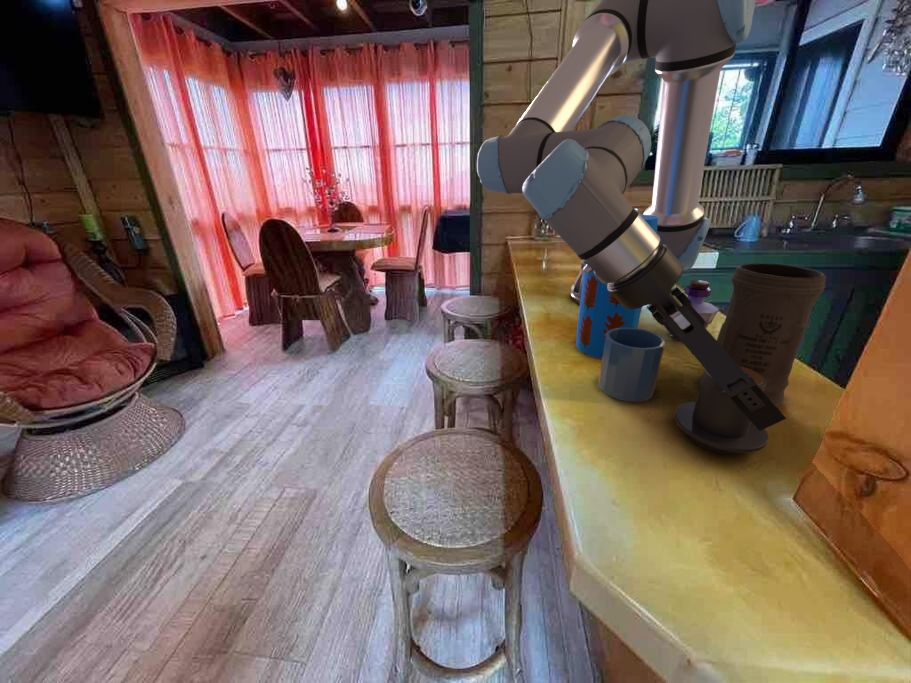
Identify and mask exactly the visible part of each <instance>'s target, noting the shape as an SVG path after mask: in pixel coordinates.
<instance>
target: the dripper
mask: <svg viewBox="0 0 911 683" xmlns="http://www.w3.org/2000/svg"><path fill="white" fill-rule="evenodd" d="M739 367H740V368H741V369H742V370H743V371H744V372H745V373H747V374H748V375H749V376H750V377H751V378H752V379H753V380H754V382H755V383H756V384H757V385H758V387H759V388H760V389H761V390H762V391H764V389H765V386H766V380H765V379H764V378H763V377H762V376H761V375H760V374H758V373H757V372H755V371H753V370H751V369H748V368H745V367H742V366H739ZM704 371H705V370H704ZM699 388H700V389H699V392H698V395H697V398H696V401H695V400H692V401H687V402H683V403H681V404H680V405H678V406H677V407H676V409H675V411H674V420H675V423H676V424H677V426H678V427H679V428H680V429H681V430H682V431H683V432H685V434H687V435H688V436H689V438H690V440H691V441H693V442H694V443H695V444H697V445H698V446H699V447H701V448H703V449H705V450H708V451H710V452H713V453H717V454H722V455H735V454H738V453H743V454H746V453H755V452H759V451H760V450H763V449H764V448H765V447H766V446H767V444H768V441H769V434H768V431H767V429H766V428H765V429H763V430H761V431H759V430H758V429H757V428H756V426H755V425H754V424H753V423H752V422H751V421H750V420H749V419H748V418H747V416H746V415H745V414H744V413H743V412H742V411H741V410H740V409H739V408H738V406H737V405H736V404H735V403H734V402H733V401H732V400H731V399H730V397H728V396H726V395H725V394H724V395H722V396H720V397H719V396H718V395H717V393H716V392H715V391H717V390H719V389H721V388H720V386H719V384H718V383H717V382H716V381H715V380H714V379H713V377H712V376H711V375H710V374H709V373H708V372H707V370H706V371H705V374H704V378H703V381H702V385H700V387H699Z"/></svg>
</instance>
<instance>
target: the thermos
mask: <svg viewBox="0 0 911 683" xmlns="http://www.w3.org/2000/svg"><path fill="white" fill-rule="evenodd" d="M639 214H640V215H641V216H642V217H643V218H644V220H645V221H646V222H647V223H648V224H649V225H650V226H651V228H652V229H653V230H654V231H655V232H657V226H658V217H656V216H652V215H644V213H643V214H642V213H639ZM586 265H587V264H585V266H586ZM607 287H608V286H607V284H605V283H602V282H601V281H600V280H599V279H598V278H597V277H596V275H595V274H594V270H593V271H592V272H590V273H585V272H584V276H583V284H582V292H581V300H580V304H579V308H578V317H577V324H576V325H577V326H576V342H575V345H576V349H577V350H579V352H581V353H582V354H585V356H586V355H587V356H589V357H592V358H596V359H601V360H602V356H603V349H604V343H605V337H606V333H607V332H608V331H609V330H611V329H615V328H624V327H628V328H638V329H639V324H640V318H641V314H642V309H643V307H641V308H638V309H626V308H624V307H623V306H622V305H621V304H620V303H619V301H618V300H617V299H616V298H615V297H614V296H613V295H612V294H611V293H610V292H609V290H608V289H607Z"/></svg>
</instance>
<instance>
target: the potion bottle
mask: <svg viewBox="0 0 911 683" xmlns="http://www.w3.org/2000/svg"><path fill="white" fill-rule="evenodd" d="M710 284H711V283H710V282H709V281H705V280H702V279H692V280H690V281H689V285H686V286H685V288H684V292H683V293H684V294H685V295H686V296H687V297H688V299H689V300H690V301H691V302H692V305H693V308H694V309H695V310H696V311H697V312H698V313H699V315H700V316H701V317H702V318H703V319H704V320H705V322H706V326H705V328H706V329H707V328H708V327H709V325H711V324H712V322H713V321H714V319H715V318H716V316H717V314H718V312H719V311H720V309H719V307H717V306H715V305H714V304H712V303H710V302H705V299H706V298H709V297H710V296H711V294H712V288H711V287H710ZM670 336H671V337H672V338H673V339H674V337H673V336H672V335H671V334H670Z"/></svg>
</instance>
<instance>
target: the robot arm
mask: <svg viewBox="0 0 911 683" xmlns="http://www.w3.org/2000/svg"><path fill="white" fill-rule="evenodd" d="M755 7H756V0H602V1H601V2H599V4H597V6H596V7H595V8H593V10H592V11H591V12H590V13H589V14H588V15H587V17H586V18H585V19H584V20H583V22H582V23H581V24H580V26H579V27H578V28H577V30H576V32H575V34H574V37H573V41H572V46H571V48H570V49H569V51H568V52H567V54H566V55H565V56H564V58H563V59H562V61H561V62H560V64H558V66H557V68H556V69H555V71H554V72H553V73H552V74H551V76H550V77H549V78H548V80H547V81H546V83H545V84H544V85H543V87H542V88H541V89H540V91H539V92H538V94H537V95H536V96H535V98H534V99H533V101H532V102H531V103H530V105H529V106H528V107H527V109H526V110H525V111H524V113H523V114H522V115H521V117H520V118H519V119H518V121H517V122H516V124H515V125H514V126H513V128H512V129H511V130H510V132H509V133H508V134H507V135H502V134H499V135H498V136H495V137H490V138H487V139H486V140H484V142H483V143H482V144H481V146H480V147H479V150H478V153H477V158H476V172H477V176H478V178H479V182H480V183H481V185H482V187H483V188H484V189H485V190H487V191H489V192H492V193H501V194H502V193H503V194H508V195H511V194H522V195H523V196H524V198H525V199H526V201H528V202H529V204H530V205H531V206H532V207H533V209H534V210H535V211H536V212H537V215H538V218H540V219H541V220H544V222H545V223H546V224H547V225H548V226H549V227H550V228H551V229H552V230H553V231H554V232H555V233H556V234H557V235H558V236H559V237H560V238H561V239H562V240H563V242H565V243H566V245H567V246H568V247H569V248H570V249H571V250H572V251H573V252H574V253H575V256H577V257H578V259H580V260H581V264H580V270H579V273H578V275H577V277H576V280H575V282H574V283H573V284H572V285H571V287H570V289H571V290H570V297H569V298H570V300H571V301H572V302H573V303H575V304H577V305H580V300H581V292H582V284H583V276H584V272H585V273H590V272H592V271H593V270H594V274H595V275H596V277H597V278H598V279H599V280H600V281H601V282H602V283H605V284H607V286H608V287H607V289H608V290H609V292H610V293H611V294H612V295H613V296H614V297H615V298H616V299H617V300H618V301H619V303H620V304H621V305H622V306H623V307H624V308H626V309H638V308H641V307H642V308H643V307H646V309H647V310H648V311H649V313H651V316H652V317H653V319H654V320H655V321H656V322H657V324H659V325H661V326H663V327H664V328H665V329H666V330H667V332H668V333H669V334H670V336H671V335H672V336H673V337H674V338H673V337H672V336H671V337H672V338H673V339H674V340H675V341H677V342H682V344H683V345H684V346H685V347H686V348H687V350H688V351H689V353H691V354H692V355H693V356H694V358H695V359H696V360H697V361H698V363H699V364H700V365H701V366H702V367H703V369H704V370H705V369H706V370H707V372H708V373H709V374H710V375H711V376H712V377H713V379H714V380H715V381H716V382H717V383H718V384H719V386H720V388H721V389H719V390H717V391H715V392H716V393H717V395H718V396H719V397H720V396H722V395H724V394H725V395H726V396H728V397H730V399H731V400H732V401H733V402H734V403H735V404H736V405H737V406H738V408H739V409H740V410H741V411H742V412H743V413H744V414H745V415H746V416H747V418H748V419H749V420H750V421H751V422H752V423H753V424H754V425H755V426H756V428H757V429H758V430H759V431H761V430H763V429H765V430H766V429H767V428H769V427H772V426H774V425H777V424H778V423H780V422H783V421H785V420H787V417H786V416H785V415H784V414H783V413H782V412H781V411H780V409H779V407H776V406H775V405H774V404H773V403H772V401H771V400H770V399H769V398H768V397H767V396H766V395H765V393H764V392H763V391H762V390H761V389H760V388H759V387H758V385H757V384H756V383H755V382H754V380H753V379H752V378H751V377H750V376H749V375H748V374H747V373H745V372H744V371H743V370H742V369H741V368H740V367H739V365H738V364H737V363H736V362H735V361H734V360H733V359H732V358H731V356H730V355H729V354H728V353H727V352H726V351H725V350H724V349H723V347H722V346H721V345H720V344H719V343H718V342H717V339H716V338H715V337H714V336H713V335H712V334H711V332H710V331H709V330H708V329H707V328H705V326H706V322H705V320H704V319H703V318H702V317H701V316H700V315H699V313H698V312H697V311H696V310H695V309H694V308H693V305H692V302H691V301H690V300H689V299H688V295H687V294H685V293H684V292H682V290H681V289H680V288H679V287H678V286H677V285H676V284H677V283H678V282H679V281H680V279H681V277H682V276H683V273H684V271H689V270H691V269H692V268H693V267H694V265H695V264H696V262H697V260H698V257H699V255H700V252H701V250H702V248H703V245H704V242H705V240H706V237H707V235H708V231H709V229H710V227H711V223H712V220H711V218H707V217H705V216H704V215H705V208H704V206H703V205H702V204H700V203H699V202H698V201H699V196H700V191H701V185H702V179H703V173H704V169H705V168H704V167H705V161H706V155H707V149H708V145H709V139H710V133H711V128H712V122H713V115H714V110H715V104H716V99H717V93H718V87H719V82H720V77H721V71H722V70H723V68H724V66H726V65H727V63H728V62H730V61H731V59H733V57H734V56H735V52H736V46H737V44H741V43H742V42H744V41H746V40H747V39H748V37H749V35H750V32H751V29H752V25H753V18H754V13H755ZM651 58H652V59H653V58H655V63H654V64H655V65H654V66H655V67H654V72H655V74H657V75H658V76H659V77H660V78H661V79H662V81H663V82H662V92H661V100H660V101H661V102H660V103H661V104H660V113H659V124H658V134H657V135H658V136H657V145H656V156H655V168H654V177H653V189H652V197H651V198H652V199H651V205H649V206H648V207H647V208H646V209H645V210H644V212H643V214H644V215H652V216H656V217H658V226H657V232H655V231H654V230H653V229H652V228H651V226H650V225H649V224H648V223H647V222H646V221H645V220H644V218H643V217H642V216H641V215H640V214H641V213H640V212H639V209H638V208H634V207H633V206H632V204H631V203H630V202H629V201H628V200H627V198H626V197H625V196H624V194H625V192H626V191H627V190H628V188H629V187H630V185H631V184H632V183H633V181H634V180H636V178H637V177H638V176H639V175H640V173H641V172H642V169H643V168H644V166H645V164H646V161H647V160H648V158H649V155H650V153H651V149H652V136H651V132H650V130H649V128H648V126H647V125H646V124H645V123H644V122H643V121H642V120H641V119H639V118H637V117H635V116H632V115H628V114H627V115H626V114H622V115H621V114H620V115H616V116H613V117H611V118H610V119H608V120H607V121H604V122H603V123H602V124H600V125H599V126H598V127H596V128H590V129H578V130H574V129H575V127H576V126H577V124H578V123H579V121H580V120H581V118H582V116H583V115H584V113H585V112H586V110H587V109H588V107H589V105H590V104H591V103H592V101H593V100H594V98H595V97H596V95H597V93H598V92H599V90H600V89H601V87H602V86H603V84H604V83H605V81H606V79H607V78H608V77H609V76H612V75H614V73H616V72H617V71H618V70H619V69H620V68H621V67H622V65H624V64H626V63H629V62H630V63H631V62H634V61H638V60H645V59H651ZM585 264H587V265H586V266H585ZM675 285H676V286H675Z"/></svg>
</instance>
